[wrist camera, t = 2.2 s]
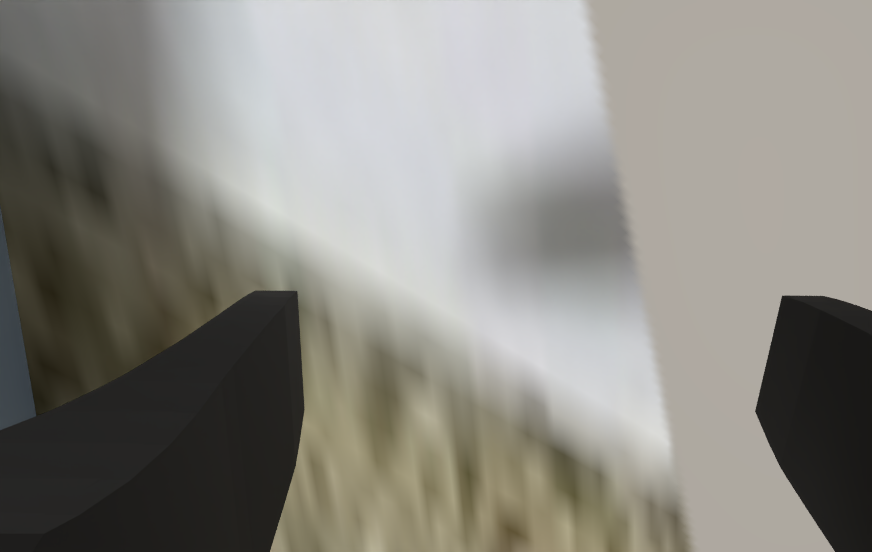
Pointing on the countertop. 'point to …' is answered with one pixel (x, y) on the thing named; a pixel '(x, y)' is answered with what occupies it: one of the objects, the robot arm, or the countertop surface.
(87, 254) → the countertop surface
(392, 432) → the countertop surface
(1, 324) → the blue-grey rectangular block
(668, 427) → the countertop surface
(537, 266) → the countertop surface
